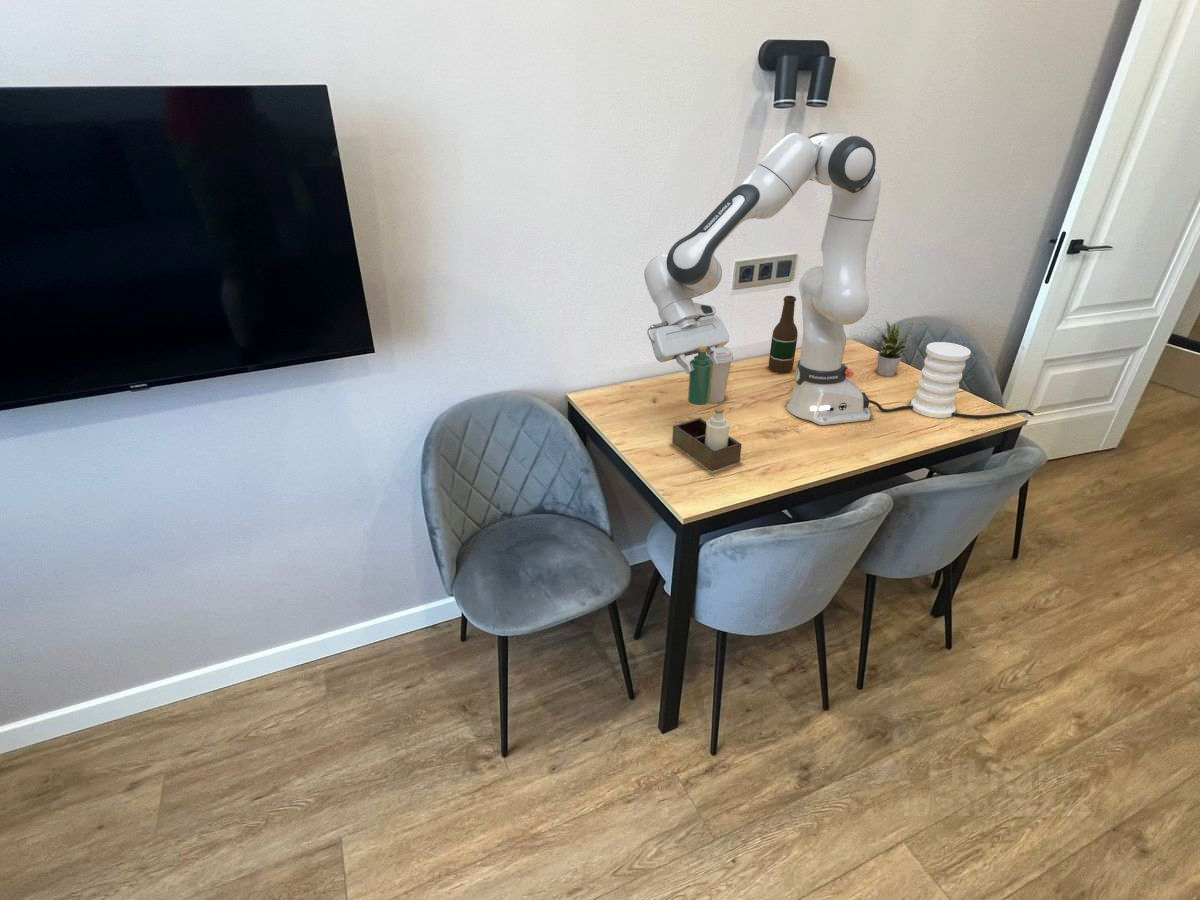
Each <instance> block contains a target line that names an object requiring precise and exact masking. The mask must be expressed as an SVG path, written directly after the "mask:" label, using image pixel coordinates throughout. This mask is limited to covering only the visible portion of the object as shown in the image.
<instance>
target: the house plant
mask: <svg viewBox="0 0 1200 900" xmlns="http://www.w3.org/2000/svg"><path fill="white" fill-rule="evenodd" d="M885 323H886V326H887V327H886V328H887V336H888V337H886V335H884V334H883V333H882V331H880V329H878V327H877V326H874V325H872V327H873V328H875V330H876V331H879V334H880V337H881V338H882V341H883V342H884V344H882V343H880V342H877V341H876V340H874V339H872V338H870V340H871V341H873V343H871V346H876V345H877V346H878V347H879V348H880V351H879V352H878V353H877V368H876V369H877V370H876V372H877V374H878V375H880V376H884V377H893V376H895V374H896V372H897V369H898V367H899V365H900V363H901V361H902V358H903V355H902V354H901V353H903V352H905V351H906V352H907V351H909V352H911V349H907V347H906V346H904V345H903V344H905V343H906V342H908V340H906V339H907V337H908V336H909V335H910V334H911V333H912V330H911V331H910V332H908V334H906V335H905V336H904V337H903V338H902V339H901V340H900V341H899V335H900V327H899V326H898V325H897V324H896V323H894V324H893V325H892V327H891V325H890V323H889V322H888V321H887V320H885ZM891 328H892V329H891ZM915 336H916V337H917V336H918V334H914V335H910V336H909V337H908V339H910V338H911V337H915ZM898 341H899V343H898ZM903 349H904V350H903Z"/></svg>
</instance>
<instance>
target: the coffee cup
mask: <svg viewBox="0 0 1200 900" xmlns="http://www.w3.org/2000/svg"><path fill="white" fill-rule="evenodd" d="M716 350H717V351H716V360H717V362H718V365H717V366H715V367H713V375H712V389H711V401H710V403H715V404H716V403H721V402H723V401H724V400H725V397H726V391H727V385H728V382H729V381H728V380H729V375H730V370H731V365H732V361H733V360H734V355H733V353H732V350H731V348H730V347H727V346H725V345H724V346H723V347H721V348H717V349H716ZM706 356H708V357H710V354H709V355H708V354H707V352H706Z"/></svg>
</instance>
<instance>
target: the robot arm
mask: <svg viewBox="0 0 1200 900" xmlns="http://www.w3.org/2000/svg"><path fill="white" fill-rule="evenodd" d="M876 163H877V156H876V151H875V148H874V146H873V144H872V143H871V142H870V141H868V140H867V139H865V138H864V137H862V136H859V135H852V134H849V133H844V132H833V133H832V132H818V133H814V134H812V135H809V136H807V135H805V134H803V133H799V132H793V133H790V134H787V135H786V136H785V137H783V138H782V139H781V140H780V141H779V142H777V143H776V144H775V145H774V146H773V147H772V148H771V149H770V150H769V151H768V152H767V153H766V154H765V156H764V157H762V159H761V160H759V162H758V163H757V165H756V166H755V167H754V168H753V170H751V172H750V173H749V174H748V175H747V176H746V177H745V178H744V180H743V181H742V182H741V183H740V184H739V185H738V186H737V187H736V188H734V189H733V190H732V191H731V192H730V193H729V194H728V195H727V196H726V197H725V198H724V199H723V200H722V201H721V202H720V203H719V204H718V205H717V206H716V207H715V208H714V209H713V210H712V212H711V213H709V215H708V216H706V218H705V219H704V220H703V221H702V222H701V223H700V225H699V226H697V228H696V229H694V230H693V231H692V232H690V233H689V234H687V235H685V236H684V237H682V238H680V239H679V240H677V241H676V242H675V243H674V244H673V245H672V246H671V248H670V249H669V251H668V253H662V254H661V253H660V254H659V255H657V256H655V257H653V258H651V260H650V261H649V262H648V263H647V265H646V266H645V268H644V271H643V276H644V281H645V286H646V288H647V290H648V294H649V296H650V298H651V301H652V302H653V303H654V305H655V306H656V308H657V313H658V316H659V319H660V322H659V323H655V324H654V323H653V324H651V325H650V326H649V327H648V328H647V331H646V334H647V337H648V339H649V341H650V343H651V347H652V351H653V354H654V357H655V359H656V360H657V361H658V362H659V363H665V362H669V361H673V360H675V361H676V363H677V364H678V365H679V366H680V367H682V369H684V371H685V373H686V374H687V375H689V373H692V372H693V371H695V369H694V367H693V364H690V362H689V361H687V360H686V357H689V356H693V355H698V347H699V346H705V347H707V351H706V352H707V354H708V355H709V354H710V360H711V361H712V362H713V367H715V366H717V365H718V362H717V360H716V351H717V350H716V349H717V348H721V347H723V346H724V347H725V346H726V345H727V344H728V343H729V341H730V334H729V332H728V330H727V328H726V326H725V325H724V324H725V323H724V322H723V321H722V319H721V318H720V317H719V316H718V315H715V314H716V313H717V310H716V308H715V306H714V305H711V304H704V303H698V302H694V301H693V298H697V297H699V296H704V295H705V294H708V293H710V292H712V291H714V290H715V289H716V288H717V287H718V285H719V284H720V282H721V280H722V276H723V269H722V266H721V264H720V262H719V261H718V260H717V258H716V257H715V252H716V250H717V249H718V248H719V247H720V246H721V245H722V243H723V242H725V240H726V239H727V238H728V237H729V236H730V235H731V234H732V233H733V232H734V231H735V229H736V228H738V227H739V226H740V225H741V224H743V223H744V222H746V221H748V220H751V219H756V220H767V219H771V218H773V217H774V216H775V215H777V214H778V213H780V211H782V210H783V209H784V207H786V206H787V205H788V203H789V202H790V201H791V200H792V199H793V197H794V196H795V195H796V194H797V193H798V191H799V190H800V189H801V187H802V186H803V185H805V184H806V183H807V182H808V181H812V182H815V183H818V184H821V185H824V186H830V188H831V202H830V204H829V207H828V213H827V215H826V216H827V217H826V220H825V225H824V230H823V234H822V238H821V243H820V250H821V254H822V265H816V266H811V267H810V268H808V269H807V270H805V272H804V273H802V275H801V277H800V279H799V282H798V291H799V294H800V298H801V299H800V300H801V312H802V314H801V315H802V341H801V350H800V357H799V360H798V361H797V365H796V369H795V376H794V378H795V379H794V380H795V383H794V386H793V390H792V393H791V396H790V399H789V401H788V402H787V404H786V409H787V411H788V412H789V413H790V414H791V415H793V416H795V417H797V418H800V419H802V420H807V421H810V422H812V423H814V424H816V425H819V426H827V425H835V424H836V425H837V424H843V423H844V424H845V423H855V422H864V421H869V420H870V419H871V414H872V413H871V409H870V408H869V405H870V404H871V405H874V406H876V407H877V409H878V410H880V412H883V413H891V412H897V411H901V410H906V409H907V410H908V409H911V410H913V406H910V405H902V406H897V407H894V408H889V409H888V408H883V407H882V405H881V404H879V403H878V402H877V401H875V400H872V399H869V397H868V395H867V394H866V392H865V391H863V392H862V390H861V389H860V388H859V387H858V386H857V385H856V384H855V383H854V382H853V381H852V380H850V379H851V378H853V377H854V375H855V373H854V371H852V369H850V368H848V366H847V365H845V364H844V363H843V359H844V355H845V350H846V344H847V336H846V332H845V328H844V326H845V325H846V326H849V325H853V324H855V323H857V322H859V321H860V320H861V319H862V318H863V317H864V316H865V315H866V313H867V312H868V310H869V308H870V307H869V306H870V298H869V297H870V296H869V294H868V291H867V285H866V277H867V275H866V273H867V271H866V269H867V267H866V266H867V256H868V255H867V254H868V248H869V244H870V240H871V237H872V232H873V227H874V224H875V221H876V216H877V212H878V207H879V202H880V194H881V183H882V182H881V176H880V175H879V173H878V172H877V171H876V166H877V165H876ZM1016 414H1017V415H1018V414H1027V415H1029V416H1030V417H1034V416H1035V414H1034V413H1033V412H1032V411H1030V410H1028V409H1019V410H1013V411H1009V412H1008V411H1007V412H998V413H991V414H965V413H959V412H955V413H952V414H951V415H952V416H953V417H959V418H969V419H989V418H995V417H1004V416H1005V417H1006V416H1012V415H1016ZM952 416H951V417H952Z"/></svg>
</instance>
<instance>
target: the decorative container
mask: <svg viewBox="0 0 1200 900" xmlns="http://www.w3.org/2000/svg"><path fill="white" fill-rule="evenodd" d="M925 353H926V357H925V358H924V360H923V361H924V366H923V367H922V369H921V377H920V378H919V380H918V388H917V389H916V392H915V393H916V394H915V395H916V397H913V398H911V401H910V404H909V406H913V409H912V411H914V412H915V413H917V414H919V415H922V416H926V417H930V418H934V419H935V418H938V419H945V418H950V417H952V415H951V414H952V413H956V408H957V407H956V405H955V404H954V403H955V402H956V399H957V392H958V391H959V389H960V382H961V380H962V379H963V371H964V370H965V368H966V360H969V359H970V358H971V357H970V356H971V354H972V351H971V349H969V348H968V347H966V346H964V345H962V344H958V343H954V342H945V341H935V342H929V343H927V345H926V347H925Z"/></svg>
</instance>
